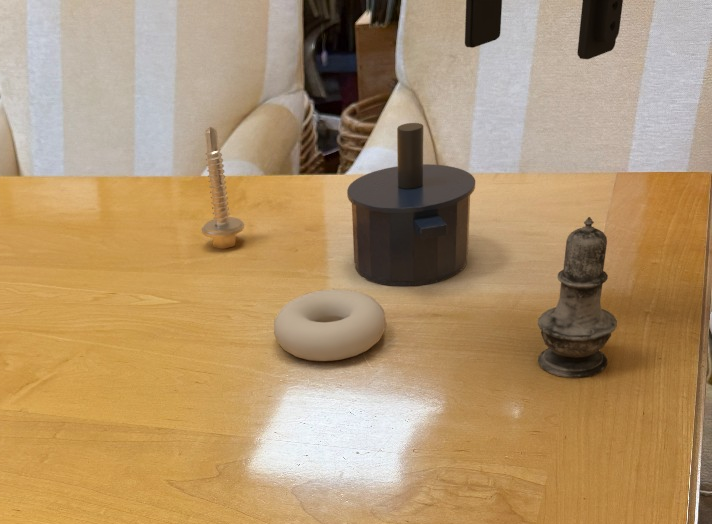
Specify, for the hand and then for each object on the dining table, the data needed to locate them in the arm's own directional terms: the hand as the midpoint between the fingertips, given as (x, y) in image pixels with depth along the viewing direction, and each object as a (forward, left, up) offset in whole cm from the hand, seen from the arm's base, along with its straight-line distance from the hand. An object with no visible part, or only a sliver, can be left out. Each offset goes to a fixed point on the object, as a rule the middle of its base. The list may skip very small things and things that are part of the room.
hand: (536, 48), depth 65 cm
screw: (+22, -32, -23) cm, 45 cm away
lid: (+4, -19, -15) cm, 25 cm away
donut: (+15, -5, -23) cm, 28 cm away
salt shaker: (-3, +5, -23) cm, 24 cm away
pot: (+4, -19, -23) cm, 30 cm away
